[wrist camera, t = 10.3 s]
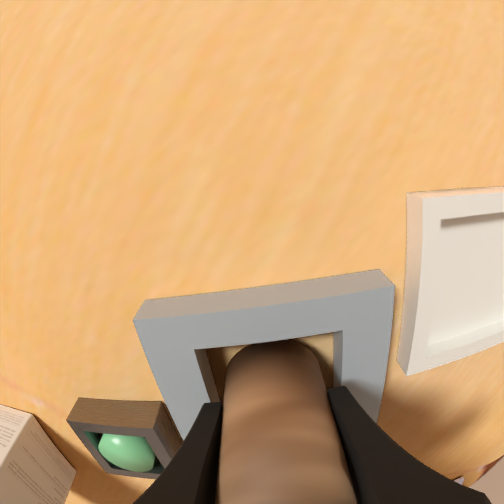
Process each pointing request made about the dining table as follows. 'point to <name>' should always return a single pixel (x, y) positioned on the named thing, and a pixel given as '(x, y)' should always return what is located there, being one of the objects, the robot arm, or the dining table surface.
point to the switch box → (125, 430)
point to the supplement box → (30, 462)
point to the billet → (279, 431)
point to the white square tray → (452, 276)
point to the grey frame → (269, 334)
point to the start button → (127, 452)
